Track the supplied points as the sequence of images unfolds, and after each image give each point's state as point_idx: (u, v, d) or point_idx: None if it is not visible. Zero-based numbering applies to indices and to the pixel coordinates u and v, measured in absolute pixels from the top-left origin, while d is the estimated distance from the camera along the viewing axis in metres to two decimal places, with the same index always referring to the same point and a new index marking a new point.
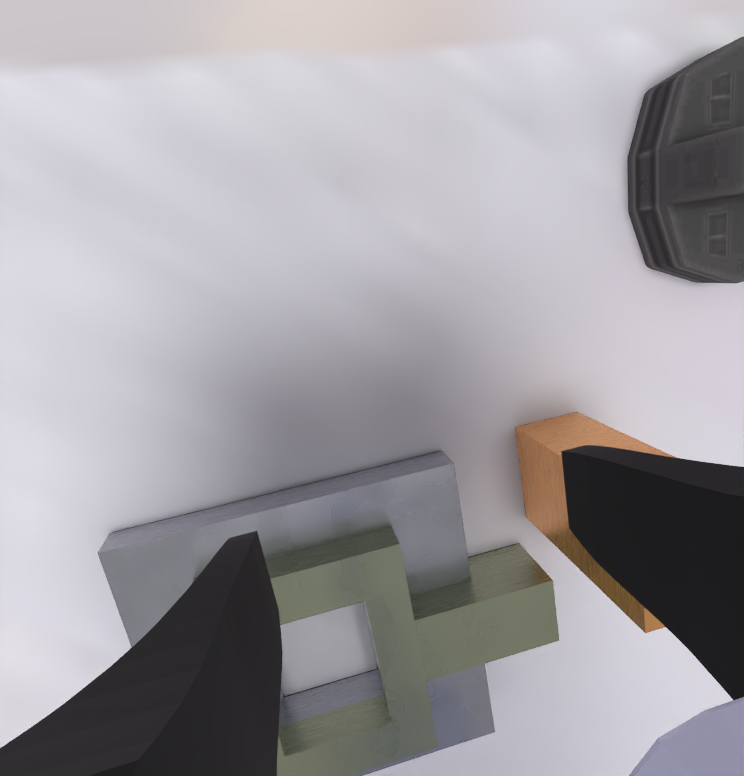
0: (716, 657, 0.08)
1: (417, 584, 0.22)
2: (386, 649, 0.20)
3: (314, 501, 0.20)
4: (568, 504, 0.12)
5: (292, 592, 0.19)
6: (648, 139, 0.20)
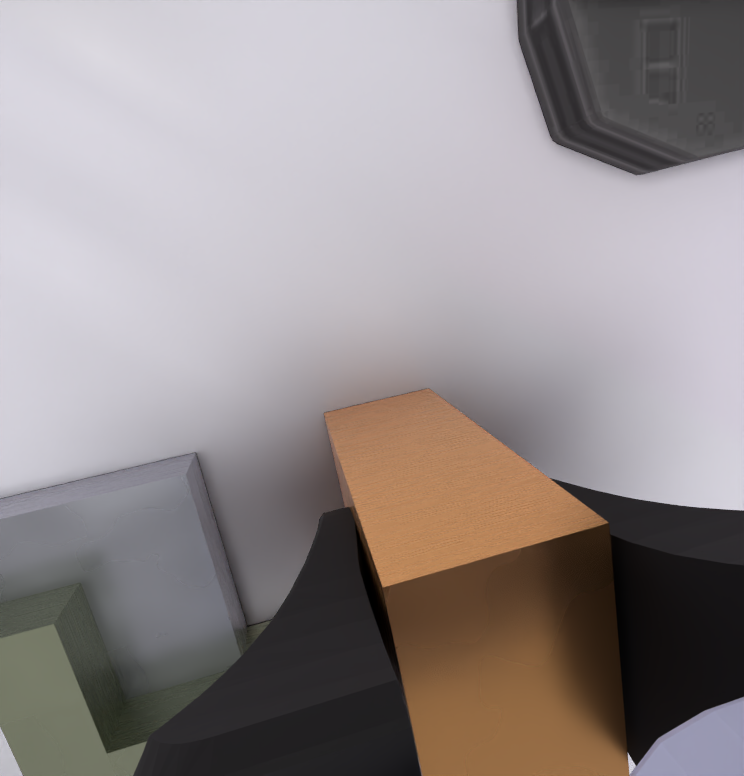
0: None
1: (145, 678, 0.13)
2: None
3: None
4: None
5: None
6: None
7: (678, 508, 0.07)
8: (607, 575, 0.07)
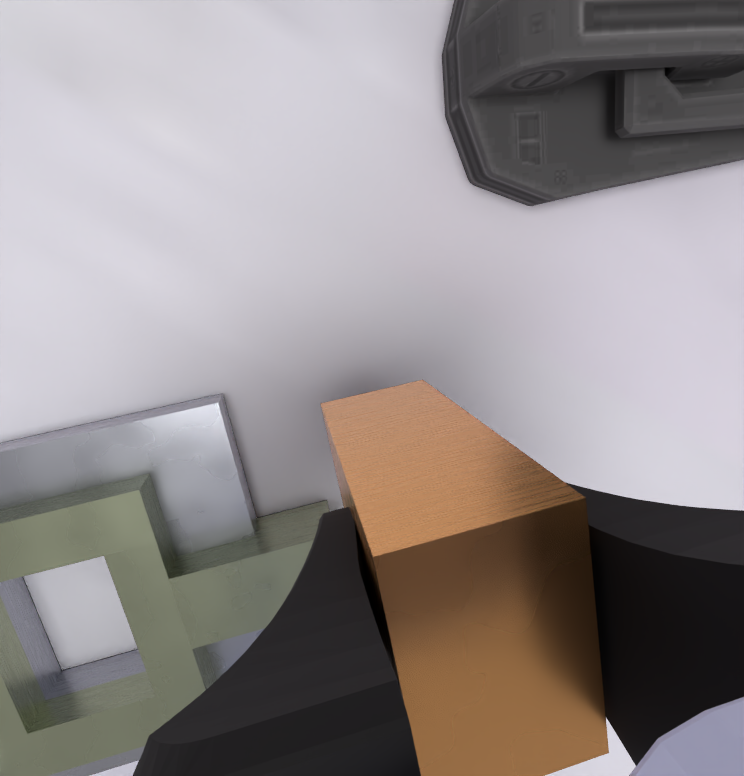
0: (604, 694, 0.08)
1: (190, 541, 0.19)
2: (138, 611, 0.18)
3: (51, 444, 0.18)
4: None
5: (11, 544, 0.17)
6: (454, 27, 0.18)
7: (678, 508, 0.07)
8: (584, 547, 0.07)
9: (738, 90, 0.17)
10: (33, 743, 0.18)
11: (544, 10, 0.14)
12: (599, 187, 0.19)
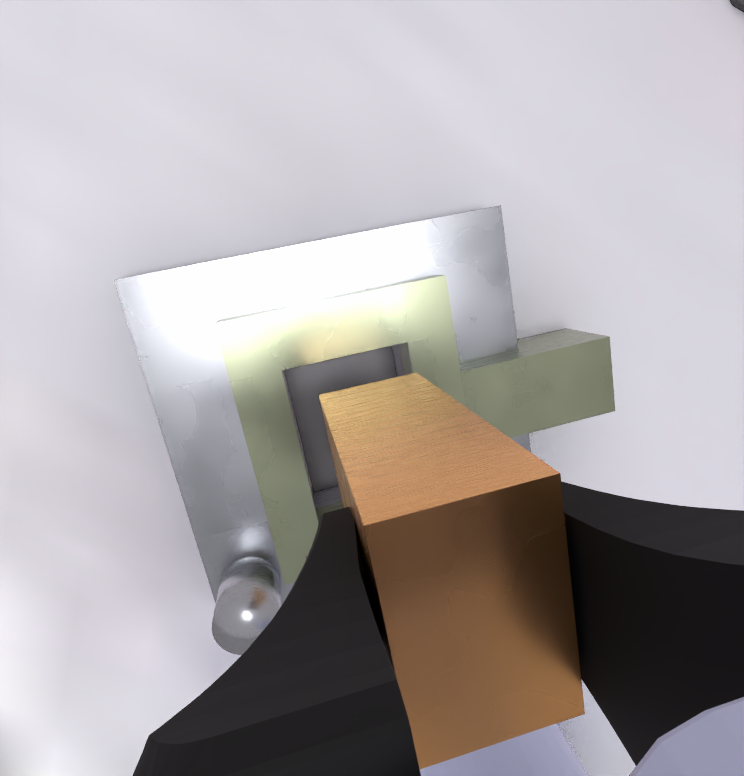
0: (604, 694, 0.08)
1: (460, 349, 0.20)
2: None
3: (350, 238, 0.18)
4: None
5: (328, 323, 0.17)
6: None
7: (678, 508, 0.07)
8: (559, 519, 0.08)
9: None
10: None
11: None
12: None
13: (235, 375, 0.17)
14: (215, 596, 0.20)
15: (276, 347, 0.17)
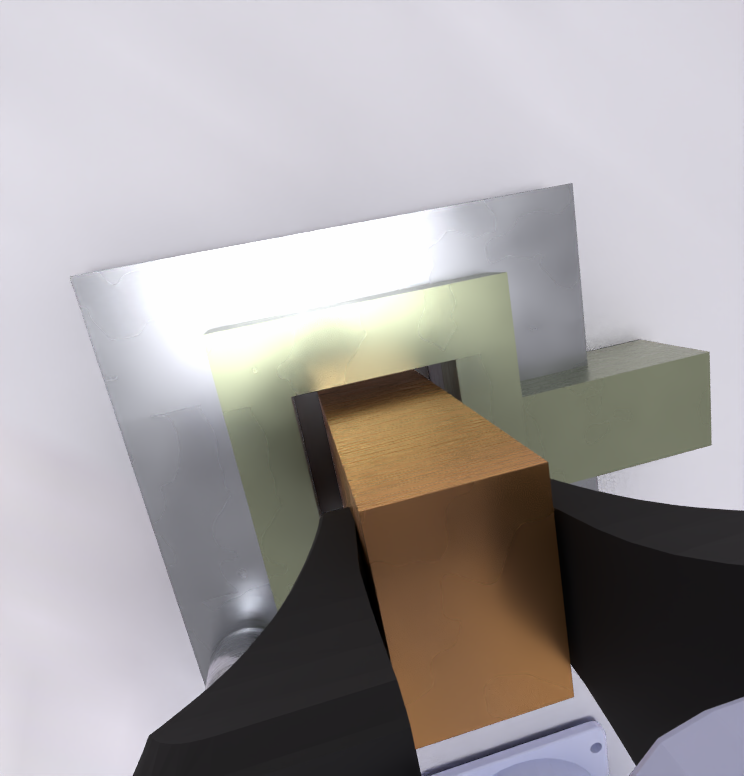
0: (604, 694, 0.08)
1: None
2: None
3: (380, 223, 0.14)
4: None
5: (354, 335, 0.13)
6: None
7: (678, 508, 0.07)
8: (548, 506, 0.08)
9: None
10: None
11: None
12: None
13: (230, 403, 0.13)
14: (204, 677, 0.16)
15: (284, 366, 0.13)
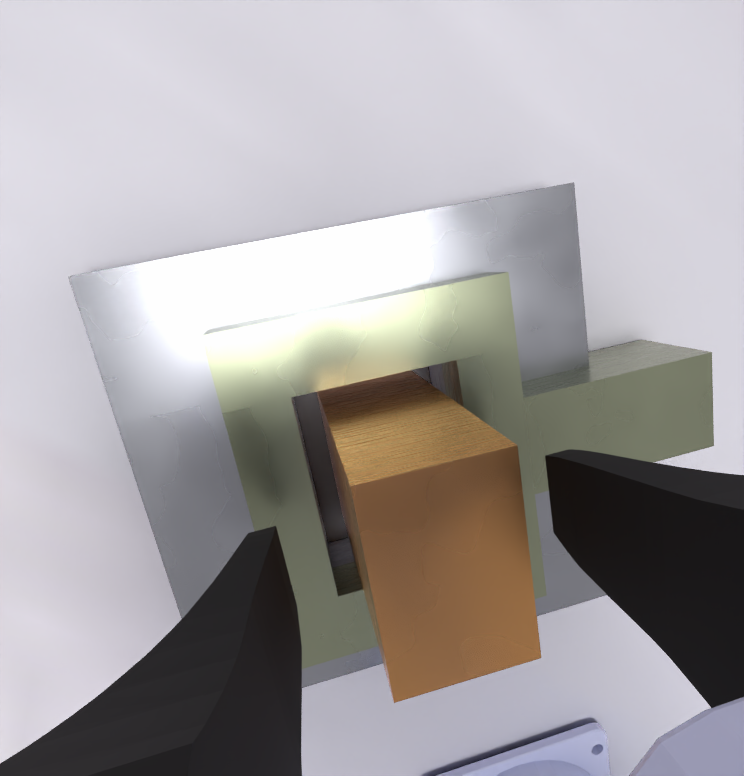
0: (694, 664, 0.08)
1: None
2: None
3: (381, 223, 0.14)
4: (552, 508, 0.12)
5: (354, 335, 0.13)
6: None
7: None
8: (517, 485, 0.09)
9: None
10: (343, 609, 0.15)
11: None
12: None
13: (229, 404, 0.13)
14: None
15: (284, 367, 0.13)
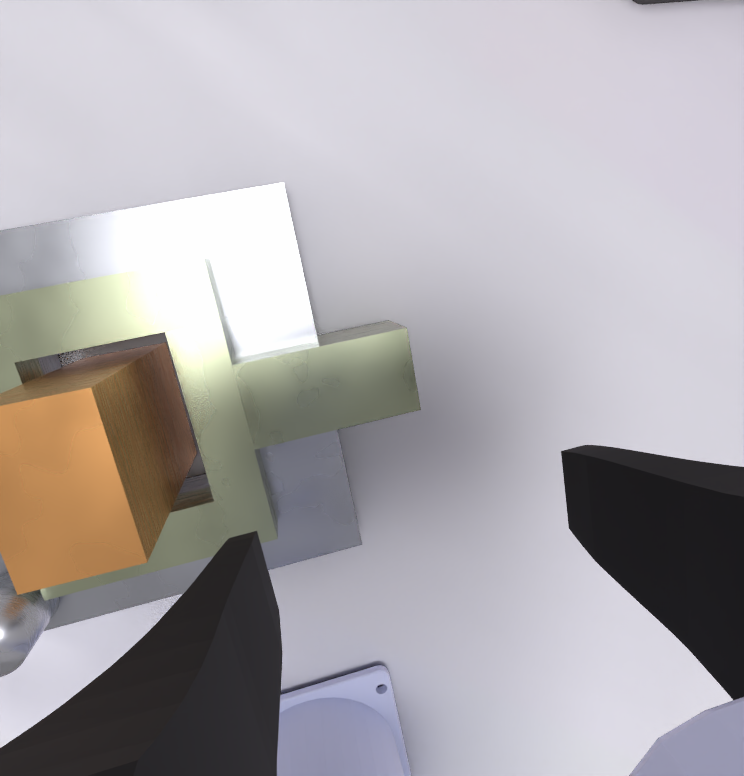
0: (716, 657, 0.08)
1: (249, 342, 0.18)
2: (198, 401, 0.17)
3: (106, 216, 0.16)
4: (568, 504, 0.12)
5: (66, 310, 0.15)
6: None
7: None
8: (95, 419, 0.11)
9: None
10: None
11: None
12: None
13: None
14: None
15: (5, 336, 0.15)
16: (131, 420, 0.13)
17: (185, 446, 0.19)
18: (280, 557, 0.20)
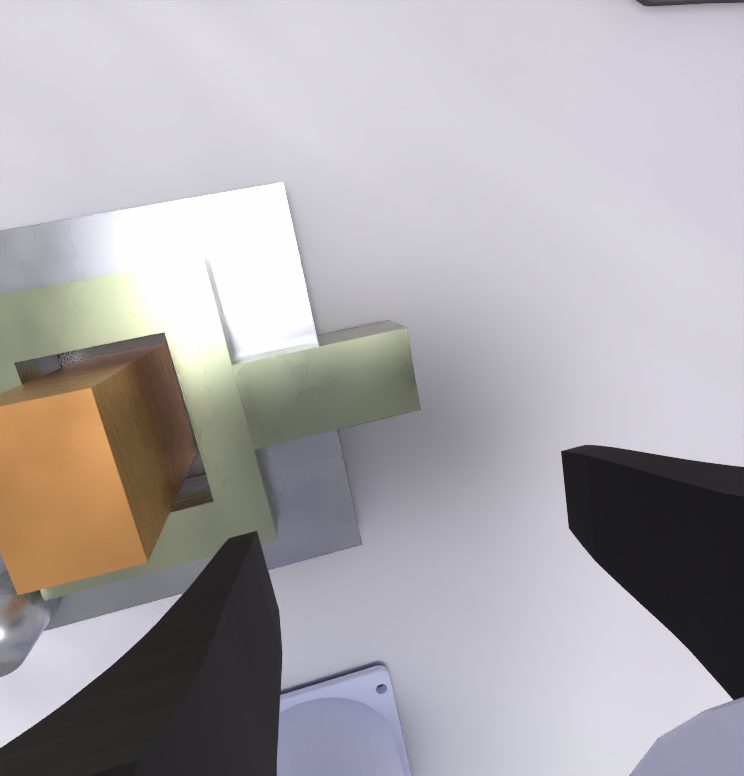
0: (716, 657, 0.08)
1: (249, 342, 0.18)
2: (198, 401, 0.17)
3: (106, 216, 0.16)
4: (568, 504, 0.12)
5: (66, 310, 0.15)
6: None
7: None
8: (95, 420, 0.11)
9: None
10: None
11: None
12: None
13: None
14: None
15: (5, 336, 0.15)
16: (131, 420, 0.13)
17: (185, 446, 0.19)
18: (280, 557, 0.20)
